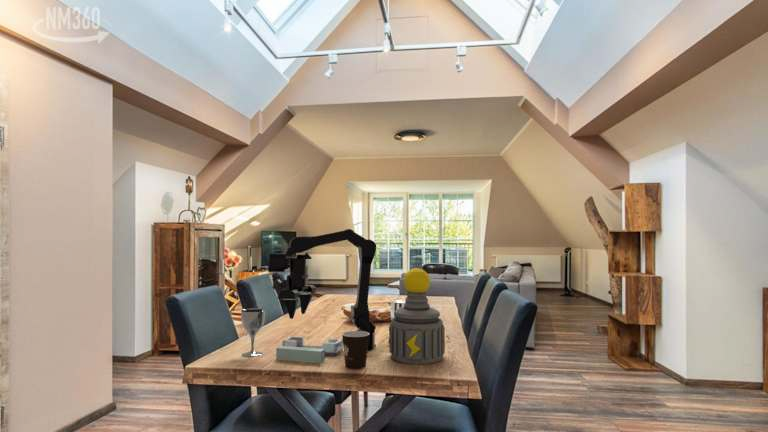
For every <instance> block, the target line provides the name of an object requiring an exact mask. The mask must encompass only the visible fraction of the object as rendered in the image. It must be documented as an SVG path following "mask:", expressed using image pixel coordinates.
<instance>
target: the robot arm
mask: <svg viewBox="0 0 768 432" xmlns="http://www.w3.org/2000/svg"><path fill="white" fill-rule="evenodd" d="M344 241H348V242H349V243H351V244H352V245H353V246H355V247H356V248H357V252H358V258H359V259H358V260H359V270H358V280H357V281H358V282H357V291H356V300H355V304H354V305H350V314H349V317H350V318H351V321H352V323H353V324H354V325H355V326H356V328H357V330H356V331H364V332H368V333H369V342H368V350H367V351H373V349H374V348H375V347H377V344H376V343H375V342H376V341H375V340H376V339H375V338H376V336H375V334H376V333H375V331H376V328H377V327H376V326H375V325H374V323H372V322H371V320H370V319H371V318H370V310H369V309H370V308H369V305H368V304H369V292H370V291H369V290H370V279H371V269H372V263H373V260H374V258H375V256H376V251H377V245H376V242H375V241H374V240H372V239H366V238H364V237H363V236H361V235H360V234H358V233H356V232H355V231H354V230H352V229H351V228H347V229H343V230H339V231H335V232H331V233H326V234H321V235H315V236H296V237H293V238H292V239H291V240H290V241H289V247H288V249H287V250H286V251H285V252H284V253H274V252H270V253H269V254H268V261H267V262H268V264H267V269H268V271H267V272H268V273H285V271H286V270H288V269H289V274H287V275H286V279H284V280H281V279H276V280H273V283H272V289H274V290H275V292H276V293H277V299H279V301H281V302H283V303H284V305H285V307H286V310H287V313H288V316H289V319H292V320H293V319H294V317H295V314H296V311H297V307H298V304H299V303H300V304H299V305H300V312H301V314H302V315H304V314H306V311H307V309H308V308H309V305H310V302H311V301H312V299H313V297H314V296H315V293H317V292H316V291H317V289H316V286H315V285H314V284H307V278H309V274H308V273H307V260H312V256H311V255H310V254H308V252H306V251H309V250H311V249H313V248H316V247H319V246H324V245H329V244H334V243H339V242H344ZM303 252H305V253H304V254H301V253H303ZM295 254H296V256H295V257H292V256H293V255H295ZM288 266H289V268H288Z"/></svg>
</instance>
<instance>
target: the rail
mask: <svg viewBox="0 0 768 432" xmlns="http://www.w3.org/2000/svg"><path fill="white" fill-rule="evenodd" d="M275 350H276V351H275V360H279V361H280V360H281V361H288V362H289V361H290V362H301V363H302V362H303V363H312V364H313V363H314V364H323V363H324V362H325V359H326V358H325V357H326V355H325V349H316V348H303V347H290V346H282V345H279V346H278V347H276V349H275Z"/></svg>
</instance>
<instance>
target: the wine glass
mask: <svg viewBox="0 0 768 432" xmlns="http://www.w3.org/2000/svg"><path fill="white" fill-rule="evenodd" d="M265 317H266V309H265V308H259V307H258V308H257V307H255V308H254V307H253V308H252V307H251V308H246V309H244V308H243V309H242V310H241V311H240V321H241V324H242V327H243V329H244V330H245V332H247V333H246V334H248V336H249V338H250V344H251V345H250V346H251V347H250V350H249V351H245V352H242V353H241V357H244V358H245V357H246V358H254V356H255V357H259V355H260V356H261V355H263V354H264V353H263V351H260V350H259V351H258V350H255V349H254V346H255V337H256V335H257V334H258V333H259V332H260V330H261V329H262V328H263V325H264V323H265V319H266V318H265Z"/></svg>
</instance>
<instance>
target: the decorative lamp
mask: <svg viewBox="0 0 768 432" xmlns="http://www.w3.org/2000/svg"><path fill="white" fill-rule="evenodd" d="M403 285H404V289H405V290H406V291H407V293H406V296H407V297H405V300H404V301H406V303H405V304H404V307H401V308H399V309H397V310H395V311H394V316H395V317H394V318H392V319H391V318H390V320H391V322H390V324H389V326H388V332H389V333H388V335H389V336H388V346H389V354H391V355H390V356H391V358H392V359H393V360H394V361H397V362H399V363H403V364H409V365H430V364H434V363H437V362H438V363H439V362H440V361H441V360H442V359H443V356H444V355H445V354H446V353H445V352H446V336H445V335H446V332H445V331H446V328H445V325H444V324H443V323H444V321H443V320H442V319H441V318H439V317H440V316H441V313H440V311H439V310H438V309H436V308H434V307H431V306H430V304H429V303H428V302H429V299H428V297H427V296H428V294H427V291H428V290H429V289H430V286H431V279H430V276H429V274H428V273H427V271H425V270H424V269H422V268H418V267H417V268H416V267H415V268H412V269H409V270H408V271H407V272H406V273H405V275H404V277H403Z"/></svg>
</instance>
